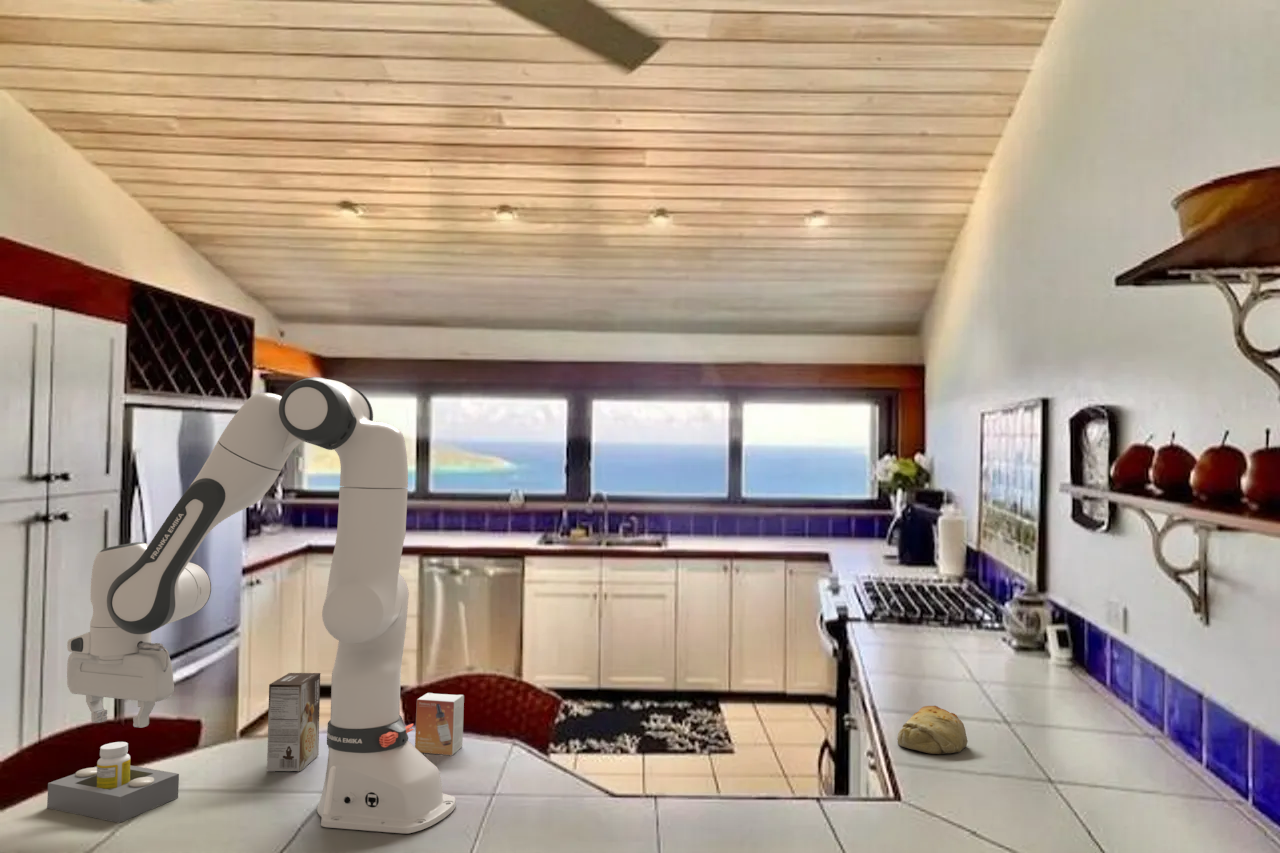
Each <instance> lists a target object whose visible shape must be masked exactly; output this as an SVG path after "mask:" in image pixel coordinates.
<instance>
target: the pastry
mask: <svg viewBox="0 0 1280 853" xmlns="http://www.w3.org/2000/svg"><path fill="white" fill-rule="evenodd" d="M967 744H968V738H967V734H966V728H965V725H964V723H963V721H962V720H961V719H960V718H959V716H958V715H957V714H956V713H954V712H950V711H948V710H946V709H944V708H941V707H939V706H937V705H924V706H922V707H921V708H920V709H919V710H918V711H917V712H915V713H914V714H913V715H912V716H911V717H909V719H908V720H907V721H906V722H905V723H904V724H903V725H902V728H900V729H899V731H898V733H897V745H898V746H899V747H902V748H906V749H909V750H914V751H917V752H922V753H926V754H931V755H944V754H953V753H956V754H958V753H961V751H963V750H964V749H966V748H967V746H968V745H967Z"/></svg>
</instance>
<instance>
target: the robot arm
mask: <svg viewBox="0 0 1280 853" xmlns="http://www.w3.org/2000/svg"><path fill="white" fill-rule="evenodd" d="M372 407H373V406H372V405H371V403H370V401H369V399H368V398H367V397H366V396H365V394H363V393H362V392H361V391H360V390H358V389H357V388H354V387H351V386H348V385H347V384H345V383H344V382H341V381H338V380H333V379H327V378H323V377H317V376H315V377H307V378H303V379H300V380H298V381H296V382H293V383H292V384H291V385H289V387H288V388H287V389H285V391H284V392H283V394H282V395H279V394H278V393H272V392H260V393H259V392H258V393H255V394H253V395H251V396H250V397H248V399H247V400H246V401H245V402H244V403H243V405H242V406H240V408H239V409H238V411H237V412H236V413H235V415H234V416H233V417H232V418H231V420H230V421H229V422H228V424H227V426H226V427H225V428H224V430H223V432H222V433H221V435H220V437H219V438H218V440H217V442H216V443H215V446H214V447H213V449H212V450H211V453H210V454H209V455H208V457H207V458H206V461H205V463H204V464H203V466H202V468H201V469H200V470H199V472H198V474H197V475H196V477H195V478H194V479H193V480H192V482H191V484H190V485H189V486H188V488H187V489H186V490H185V492H184V494H183V495H182V496H181V497H180V498H179V500H178V501H177V503H176V504H175V506H174V507H173V508H172V510H171V511H170V513H169V514H168V516H167V518H166V519H165V520H164V522H163V523H162V525H161V526H160V528H159V529H158V531H157V533H155V536H154V537H153V538H152V540H151V541H150V543H149V544H148V543H146V542H142V541H141V542H140V541H138V542H130V543H129V542H128V543H124V544H118V545H113V546H109V547H106V548H103V549H101V550H100V551H99V552H98V553H97V554H96V556H95V558H94V561H93V564H92V569H91V570H92V571H91V578H90V602H91V605H92V610H93V611H92V617H91V619H90V623H89V626H90V627H89V632H85V633H82V634H80V635H77V636H74V637H71V638H69V639H68V641H67V644H66V645H67V651H68V652H69V653H70V654H69V656H68V658H67V665H66V666H67V668H66V669H67V670H66V684H67V688H68V690H69V692H70V693H71V694H73V695H81V696H85V703H86V705H87V707H88V708H89V710H90V711H89V712H91V714H90V716H91V718H90V721H91V722H93V723H98V724H99V723H102V722H106V721H107V719H108V710H107V709H105V707H104V705H103V699H104V698H109V699H118V700H119V699H120V700H128V701H137V707H138V708H139V711H138V714H137V715H134V716H133V717H132V718H133V719H132V721H133V723H132V726H133V727H134V728H145V727H148V726H149V724H150V714H151V713H152V711H153V709H154V707H155V705H156V703H157V702H161V701H164V700H168V699H170V698H171V696H172V695H173V693H174V690H175V684H174V683H175V682H174V671H173V664H172V661H171V658H170V653H169V650H167V648H166V647H165V646H164V644H162V643H160V642H154V643H153V642H152V632H154V631H156V630H158V629H160V628H163V627H164V626H165V625H168V624H171V623H173V622H177V621H180V620H181V619H185V618H187V617H189V616H192V615H194V614H195V613H197V612H199V611H201V610H202V609H203V608H205V606H206V604H207V603H208V601H209V599H210V597H211V592H212V583H211V578H210V576H209V574H208V572H207V571H206V570H205V569H204V568H203V567H202V566H201V565H199V564H198V563H195V562H191V560H192V558H193V557H194V555H195V554H196V552H197V550H198V549H199V547H200V546H201V544H202V543H203V541H204V540H205V538H206V537H207V536H208V535H209V533H210V532H211V531H212V530H213V529H214V528H216V526H217V525H219V524H220V523H222V522H223V521H224V520H226V519H228V518H229V517H231V516H233V515H235V514H237V513H239V512H241V511H243V510H245V509H247V508H250V507H251V506H253V505H256V504H257V503H258V502H259V501H261V499H262V498H263V497H264V496H265V494H266V493H268V491H269V490H270V489H271V487H272V486H273V484H275V482H276V480H277V478H278V477H279V475H280V473H281V471H282V469H283V467H284V466H285V464H286V462H287V460H288V459H289V457H290V456H291V454H292V452H293V451H294V449H295V448H296V447H297V446H298V445H300V444H302V443H304V442H305V443H307V444H310V445H314V446H317V447H320V448H322V449H325V450H328V451H329V450H330V451H332V450H333V451H335V453H336V454H337V456H338V458H339V463H340V474H339V475H340V479H339V490H338V491H339V492H338V493H339V494H338V495H339V496H338V512H337V530H336V538H335V543H334V544H335V545H334V549H333V552H332V559H331V564H330V569H329V576H328V582H327V590H326V594H325V599H324V602H323V605H322V612H321V613H322V615H321V617H322V622H323V625H324V628H325V629H326V631H327V632H328V634H329V635H331V637H332V638H334V639H335V640H337V641H338V644H337V650H336V655H335V659H334V665H333V667H332V668H333V669H332V672H331V686H330V687H331V688H330V689H331V690H330V692H331V693H330V720H329V721H327V729H326V731H327V732H326V745H327V748H328V756H327V763H326V770H325V772H326V773H325V778H324V781H323V782H324V783H323V788H322V792H321V796H320V800H319V803H318V805H317V808H316V811H317V814H318V815H319V817H320V818H321V819H320V820H321V821H320V825H321V827H324V828H329V829H330V828H333V829H344V830H357V831H358V830H359V831H368V832H380V833H381V832H383V833H393V834H394V833H395V834H411V833H416V832H419V831H422V830H424V829H427V828H430V827H431V826H434V825H435V824H437V823H439V822H441V821H442V820H444V819H445V818H446V817H448V816H449V815H450V814H451V813H452V812H453V811H454V810H455V808H456V806H457V803H456V797H455V796H453V795H450V794H447V793H443V785H442V784H443V783H442V777H441V773H440V770H439V768H438V767H437V766H436V765H435V764H434V763H433V762H432V761H430V760H429V759H428V758H427V757H426V756H425V755H424V753H421V752H419V751H418V750H417V749H416V748H415V745H413V744H412V743H411V742H410V741H409V735H408V733H409V732H411V731H414V728H412V727H413V726H414V723H410V724H408V725H406V726H405V722H404V720H403V718H402V716H401V715H400V713H401V711H400V710H401V709H400V708H401V706H400V705H401V681H402V680H401V677H402V676H401V675H402V674H401V673H402V663H403V656H404V655H403V654H404V648H405V638H406V632H407V631H406V628H407V622H408V620H407V619H408V608H409V607H408V605H409V596H410V595H409V587H408V584H407V582H406V580H405V578H404V576H402V574H400V567H401V565H400V564H401V559H402V553H403V548H404V542H405V539H406V538H405V537H406V535H407V534H406V533H407V530H406V529H407V513H408V511H407V510H408V492H409V491H408V489H409V488H408V487H409V486H408V484H409V467H408V466H409V465H408V456H407V447H406V441H405V438H404V434H403V433H402V431H401V430H400V429H399V428H398V427H396V426H394V425H392V424H390V423H388V422H384V421H375V420H374V412H373V411H374V410H373V408H372Z"/></svg>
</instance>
